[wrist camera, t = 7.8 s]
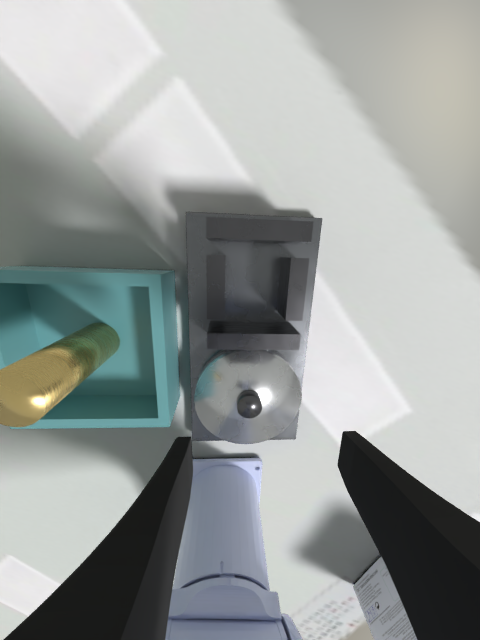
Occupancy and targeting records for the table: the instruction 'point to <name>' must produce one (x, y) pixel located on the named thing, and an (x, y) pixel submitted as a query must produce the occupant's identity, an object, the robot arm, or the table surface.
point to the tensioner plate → (248, 322)
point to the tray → (109, 308)
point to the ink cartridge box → (383, 605)
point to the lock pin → (53, 373)
